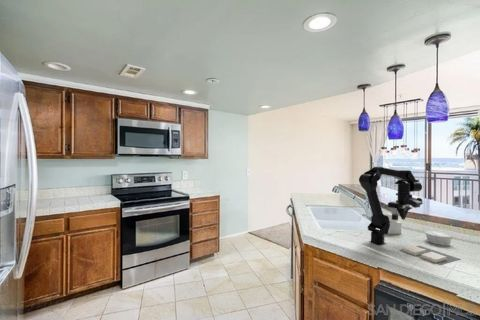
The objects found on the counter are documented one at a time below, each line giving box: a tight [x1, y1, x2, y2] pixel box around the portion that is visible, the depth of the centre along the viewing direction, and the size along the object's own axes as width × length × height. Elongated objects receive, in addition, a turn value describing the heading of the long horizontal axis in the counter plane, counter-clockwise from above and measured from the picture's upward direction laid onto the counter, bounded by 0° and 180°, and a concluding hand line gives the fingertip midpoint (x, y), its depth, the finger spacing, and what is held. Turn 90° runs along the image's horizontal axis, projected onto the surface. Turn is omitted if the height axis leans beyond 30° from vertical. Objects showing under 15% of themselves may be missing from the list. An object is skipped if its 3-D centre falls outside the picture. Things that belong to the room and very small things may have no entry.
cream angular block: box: [420, 252, 447, 264], centre depth 110 cm, size 2×6×8 cm
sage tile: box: [402, 245, 426, 257], centre depth 118 cm, size 2×6×8 cm
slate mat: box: [399, 245, 462, 266], centre depth 115 cm, size 16×18×1 cm
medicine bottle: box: [386, 212, 402, 235], centre depth 149 cm, size 7×7×12 cm
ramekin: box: [424, 230, 453, 247], centre depth 131 cm, size 11×11×5 cm
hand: (403, 219), depth 135 cm, fingers closed
